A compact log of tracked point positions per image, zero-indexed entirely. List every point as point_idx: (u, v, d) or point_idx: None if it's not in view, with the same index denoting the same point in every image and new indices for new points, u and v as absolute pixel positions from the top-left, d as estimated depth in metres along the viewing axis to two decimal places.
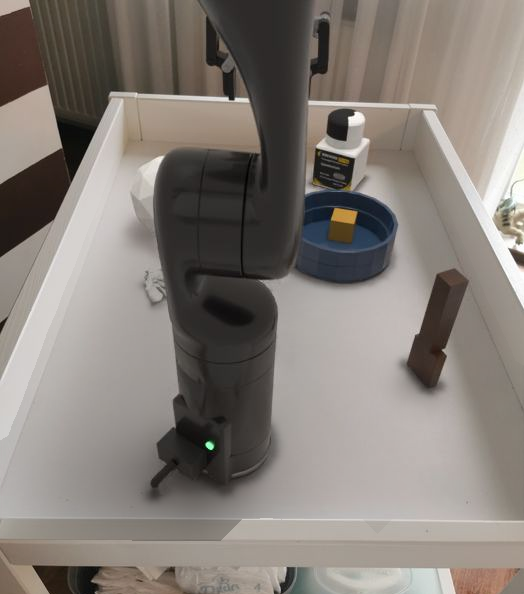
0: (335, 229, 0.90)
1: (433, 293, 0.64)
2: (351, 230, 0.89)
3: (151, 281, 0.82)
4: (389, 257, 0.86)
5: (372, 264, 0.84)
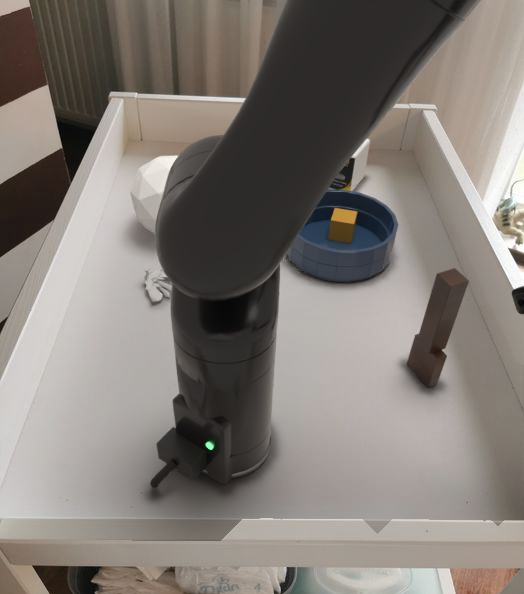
0: (335, 229, 0.90)
1: (433, 293, 0.64)
2: (351, 230, 0.89)
3: (151, 281, 0.82)
4: (389, 257, 0.86)
5: (372, 264, 0.84)
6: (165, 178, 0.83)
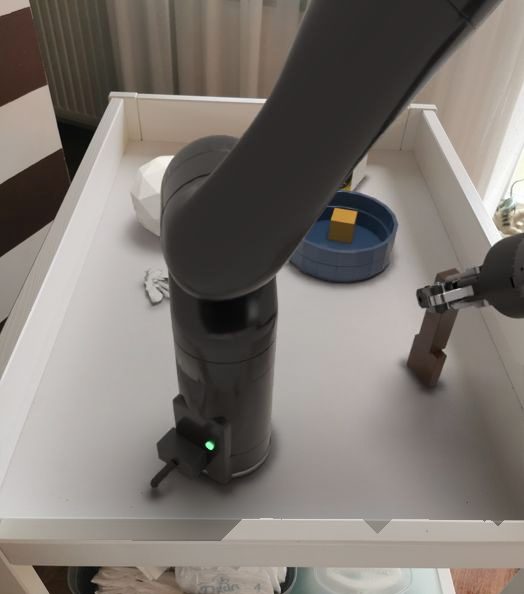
0: (335, 229, 0.90)
1: None
2: (351, 230, 0.89)
3: (151, 281, 0.82)
4: (389, 257, 0.86)
5: (372, 264, 0.84)
6: None
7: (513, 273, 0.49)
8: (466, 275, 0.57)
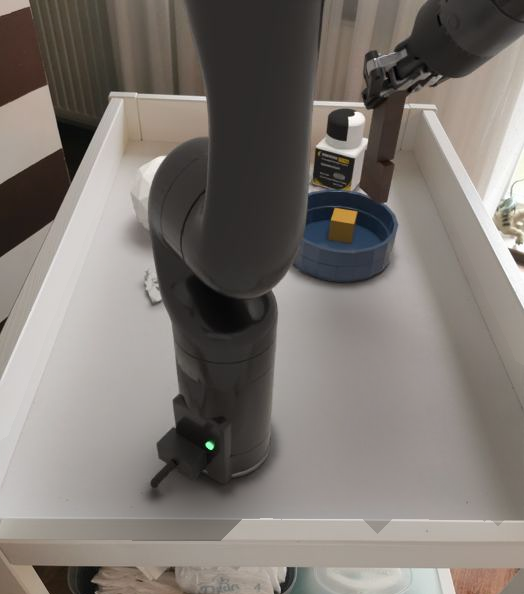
0: (335, 229, 0.90)
1: None
2: (351, 230, 0.89)
3: (151, 281, 0.82)
4: (389, 257, 0.86)
5: (372, 264, 0.84)
6: None
7: (439, 10, 0.50)
8: None
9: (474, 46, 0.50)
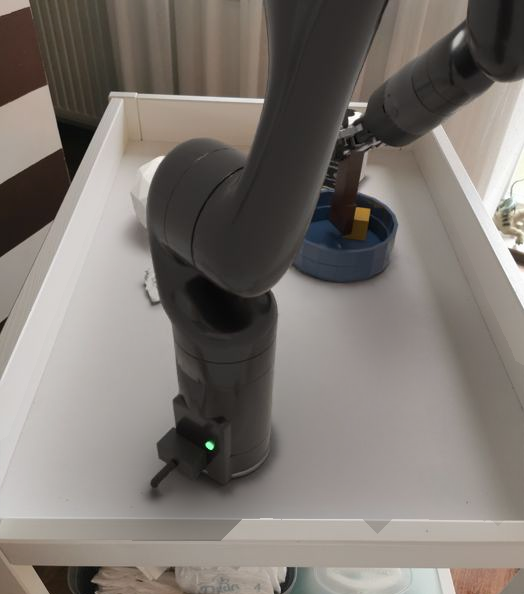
0: None
1: None
2: (365, 227, 0.90)
3: (151, 281, 0.82)
4: (389, 257, 0.86)
5: (372, 264, 0.84)
6: None
7: (384, 101, 0.67)
8: None
9: (410, 128, 0.66)
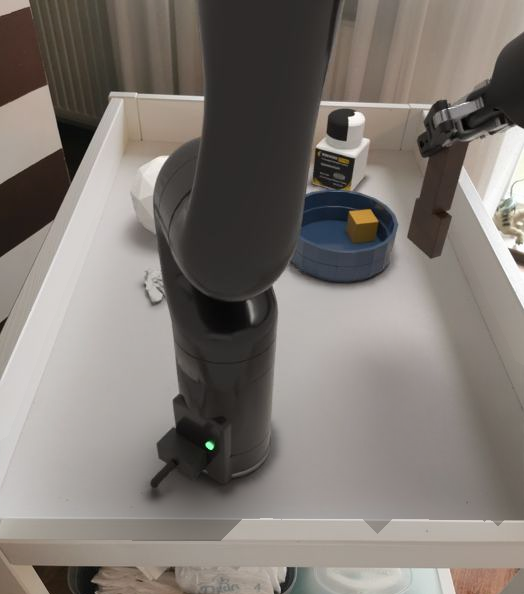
0: (360, 231, 0.89)
1: None
2: (375, 228, 0.90)
3: (151, 281, 0.82)
4: (389, 257, 0.86)
5: (372, 264, 0.84)
6: None
7: None
8: None
9: None
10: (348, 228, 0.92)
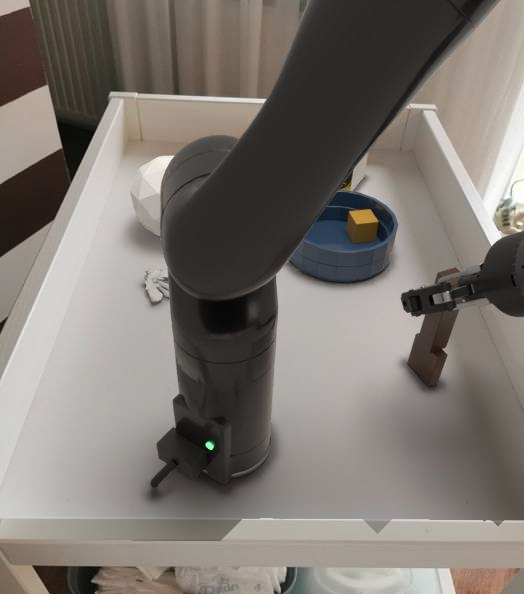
0: (360, 231, 0.89)
1: None
2: (375, 228, 0.90)
3: (151, 281, 0.82)
4: (389, 257, 0.86)
5: (372, 264, 0.84)
6: None
7: (514, 271, 0.49)
8: (467, 274, 0.57)
9: None
10: (348, 228, 0.92)
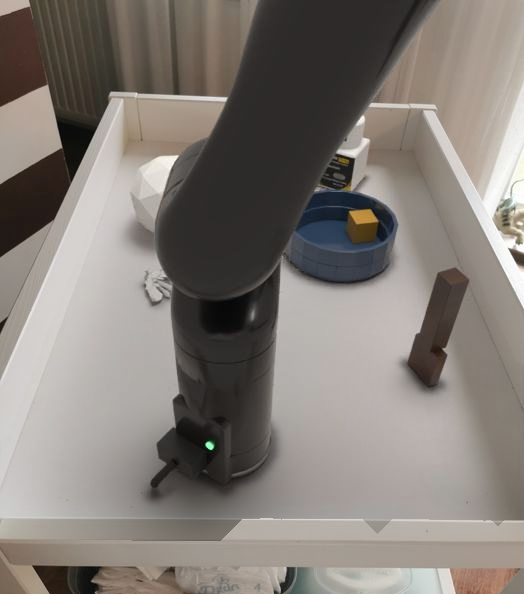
0: (360, 231, 0.89)
1: (433, 292, 0.64)
2: (375, 228, 0.90)
3: (151, 281, 0.82)
4: (389, 257, 0.86)
5: (372, 264, 0.84)
6: (165, 178, 0.83)
7: None
8: None
9: None
10: (348, 228, 0.92)
